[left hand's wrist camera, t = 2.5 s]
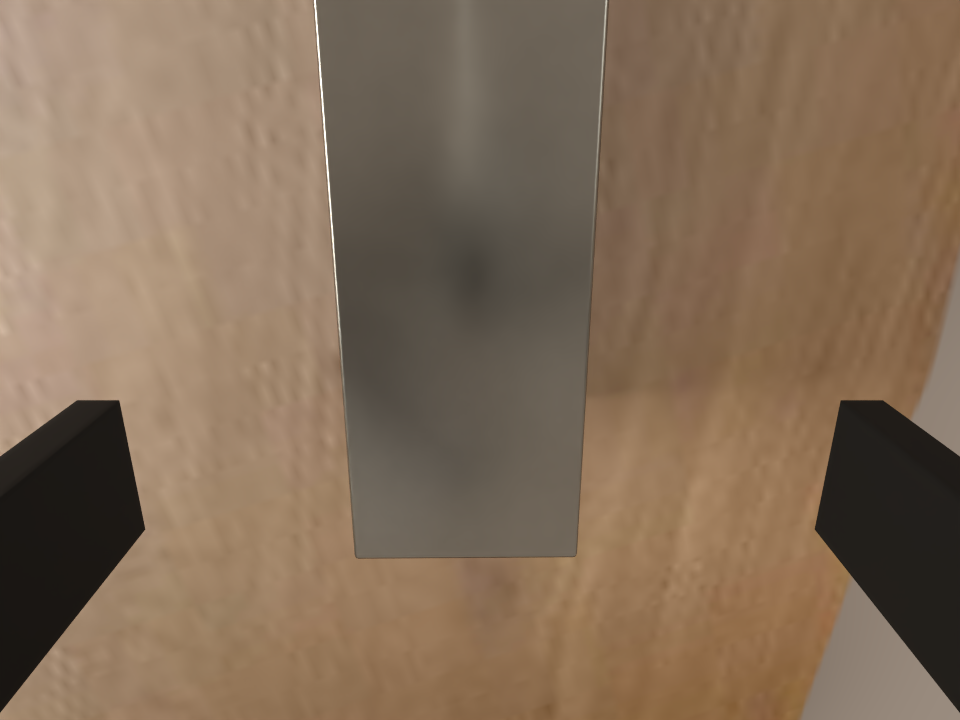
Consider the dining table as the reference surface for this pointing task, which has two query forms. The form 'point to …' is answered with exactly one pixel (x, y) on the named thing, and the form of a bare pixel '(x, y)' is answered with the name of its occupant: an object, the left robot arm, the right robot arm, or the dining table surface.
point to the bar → (463, 265)
